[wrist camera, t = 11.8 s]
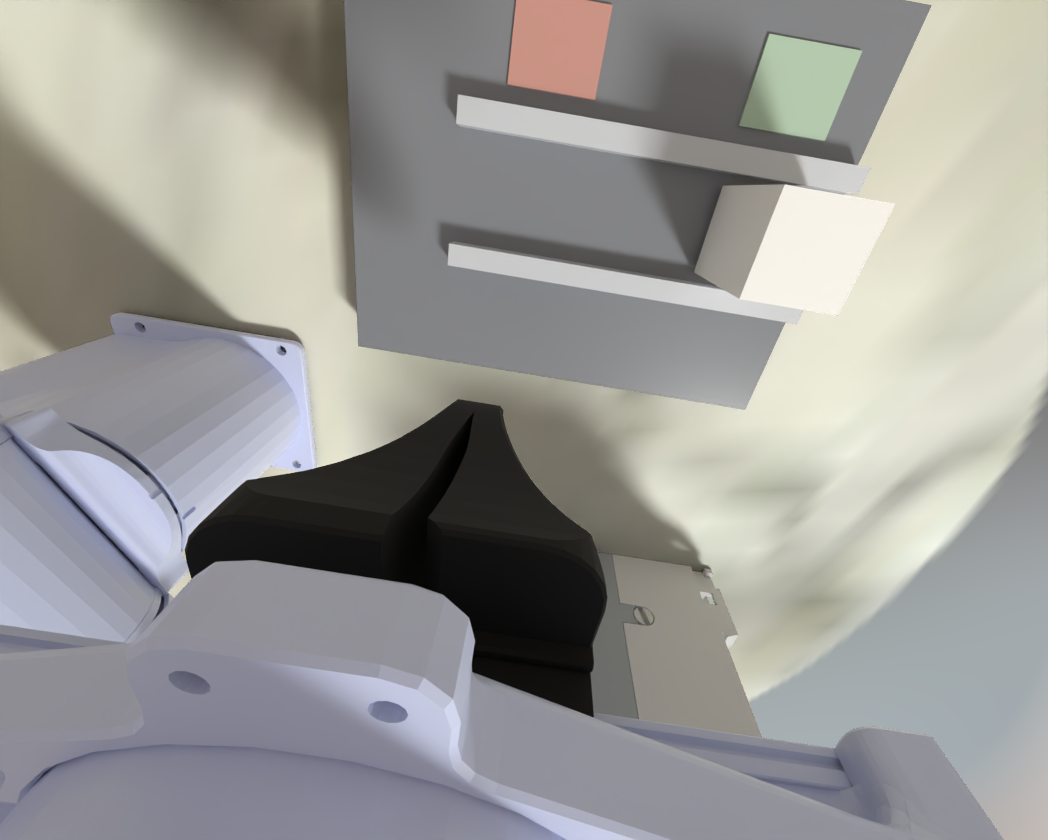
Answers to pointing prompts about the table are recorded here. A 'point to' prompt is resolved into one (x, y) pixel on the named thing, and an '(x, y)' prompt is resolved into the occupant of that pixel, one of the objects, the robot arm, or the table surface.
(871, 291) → the table surface
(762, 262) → the handle
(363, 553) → the robot arm
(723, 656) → the circuit breaker
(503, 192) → the panel
